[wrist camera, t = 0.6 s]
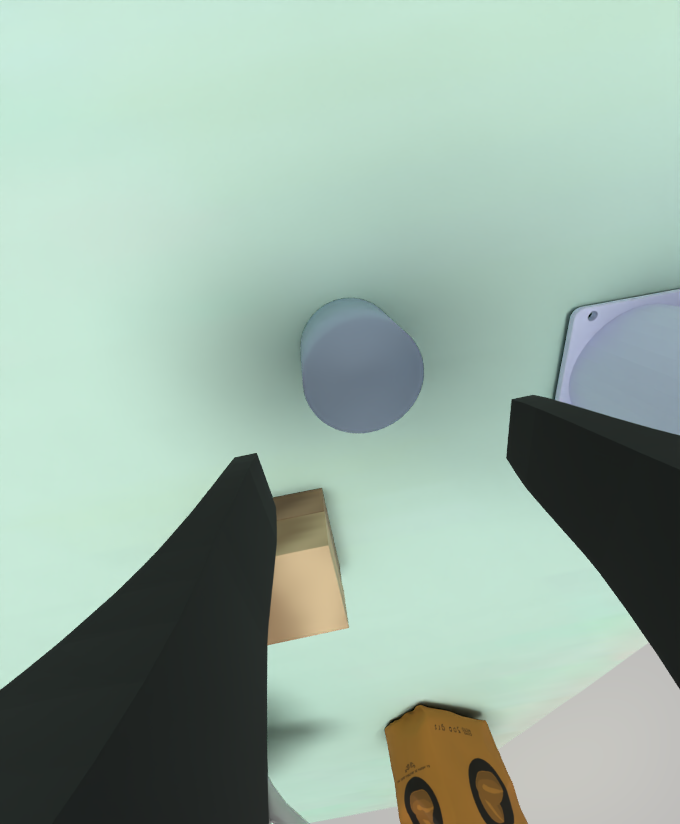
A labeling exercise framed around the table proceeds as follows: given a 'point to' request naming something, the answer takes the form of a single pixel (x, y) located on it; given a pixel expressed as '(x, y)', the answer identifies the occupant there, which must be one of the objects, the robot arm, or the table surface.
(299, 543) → the oak slab
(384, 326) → the round block
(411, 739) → the coffee package
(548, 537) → the table surface
